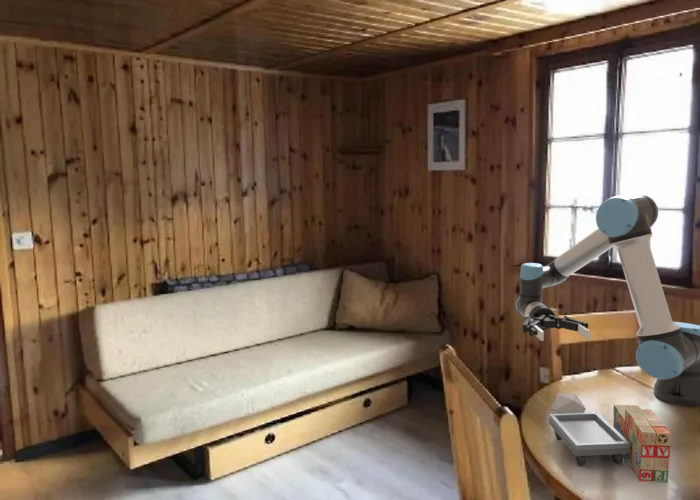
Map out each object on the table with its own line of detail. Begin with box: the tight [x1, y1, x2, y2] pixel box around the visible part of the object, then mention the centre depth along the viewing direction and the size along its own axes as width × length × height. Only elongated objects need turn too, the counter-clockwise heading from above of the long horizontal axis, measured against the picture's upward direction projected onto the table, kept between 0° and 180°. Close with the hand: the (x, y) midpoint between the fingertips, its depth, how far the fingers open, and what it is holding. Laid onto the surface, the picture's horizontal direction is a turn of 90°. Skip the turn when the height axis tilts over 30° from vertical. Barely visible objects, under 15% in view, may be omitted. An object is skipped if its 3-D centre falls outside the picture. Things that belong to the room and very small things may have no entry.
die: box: [550, 392, 587, 414], centre depth 157 cm, size 8×9×10 cm
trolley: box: [548, 411, 630, 467], centre depth 141 cm, size 13×17×6 cm
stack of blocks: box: [612, 404, 672, 483], centre depth 136 cm, size 21×6×12 cm, turn 170°
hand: (565, 335), depth 163 cm, fingers open, 13 cm apart
